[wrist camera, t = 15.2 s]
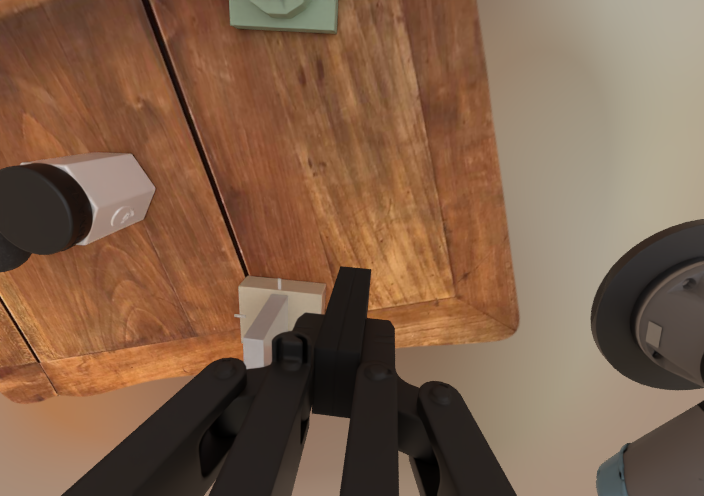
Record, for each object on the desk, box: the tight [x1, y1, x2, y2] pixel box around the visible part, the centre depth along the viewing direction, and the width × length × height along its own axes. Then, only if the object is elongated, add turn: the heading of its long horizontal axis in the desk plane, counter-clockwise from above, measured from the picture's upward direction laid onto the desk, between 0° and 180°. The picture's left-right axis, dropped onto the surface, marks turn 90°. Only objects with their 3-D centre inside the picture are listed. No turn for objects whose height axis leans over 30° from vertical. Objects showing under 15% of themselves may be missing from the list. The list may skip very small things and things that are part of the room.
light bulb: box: [0, 233, 32, 272], centre depth 42 cm, size 6×6×10 cm
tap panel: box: [234, 276, 326, 343], centre depth 46 cm, size 11×11×3 cm
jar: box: [0, 152, 156, 255], centre depth 38 cm, size 9×8×12 cm
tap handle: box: [243, 294, 288, 369], centre depth 40 cm, size 7×2×9 cm, turn 176°
